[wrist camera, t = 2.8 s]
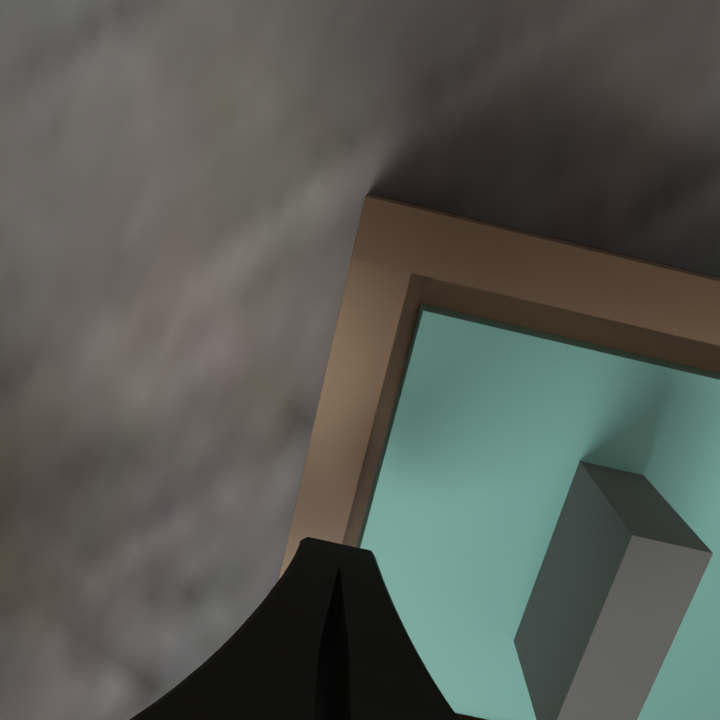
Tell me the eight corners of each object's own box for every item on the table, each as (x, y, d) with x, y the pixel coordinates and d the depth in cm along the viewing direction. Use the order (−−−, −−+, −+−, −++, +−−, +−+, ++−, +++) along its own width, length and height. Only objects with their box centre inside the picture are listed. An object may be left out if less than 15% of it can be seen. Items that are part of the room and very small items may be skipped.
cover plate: (683, 737, 17) (767, 890, 13) (326, 661, 17) (311, 798, 13) (847, 403, 14) (1010, 481, 10) (420, 303, 14) (436, 348, 10)
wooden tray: (716, 774, 19) (766, 863, 16) (257, 678, 18) (239, 755, 16) (946, 331, 15) (1057, 363, 12) (367, 193, 14) (364, 196, 12)
